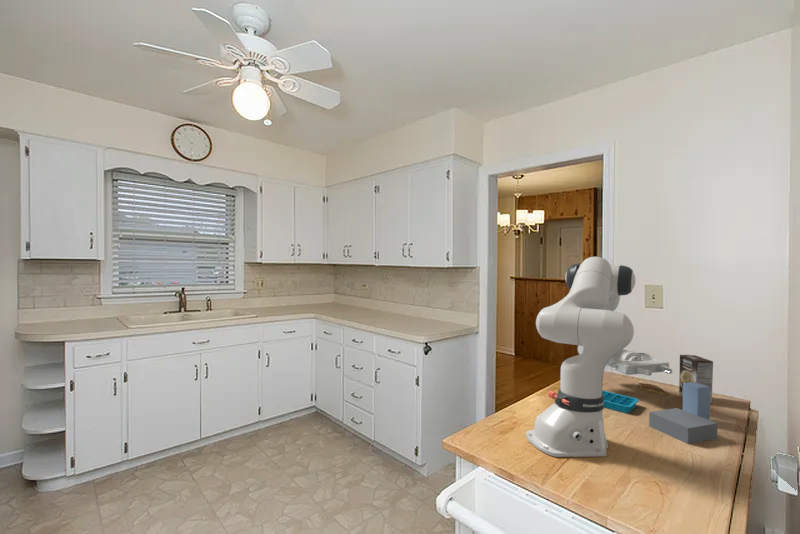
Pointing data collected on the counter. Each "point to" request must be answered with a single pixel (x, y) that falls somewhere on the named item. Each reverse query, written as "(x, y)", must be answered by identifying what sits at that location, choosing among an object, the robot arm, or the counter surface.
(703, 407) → the slate-blue block
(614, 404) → the ice cube tray
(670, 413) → the charcoal block
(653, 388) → the shard
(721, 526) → the counter surface
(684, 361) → the coffee box
